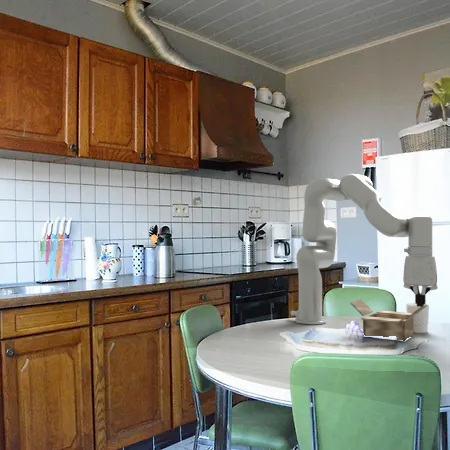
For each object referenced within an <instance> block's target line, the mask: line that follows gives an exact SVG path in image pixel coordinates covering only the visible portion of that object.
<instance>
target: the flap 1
mask: <svg viewBox="0 0 450 450" xmlns="http://www.w3.org/2000/svg"><path fill="white" fill-rule="evenodd" d="M350 305H351V306H352V307H353V308H354V309H355V310H356V311H357V312H358V313H359V314H360V315H361V316H362V317H365V316H367V315H370V314H372V313H374V311H373V310H372V308H370V307H369V306H368V304H366V303H365V302H364V300H362V299H358V300H357V299H356V300H355V301H351V302H350Z"/></svg>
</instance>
